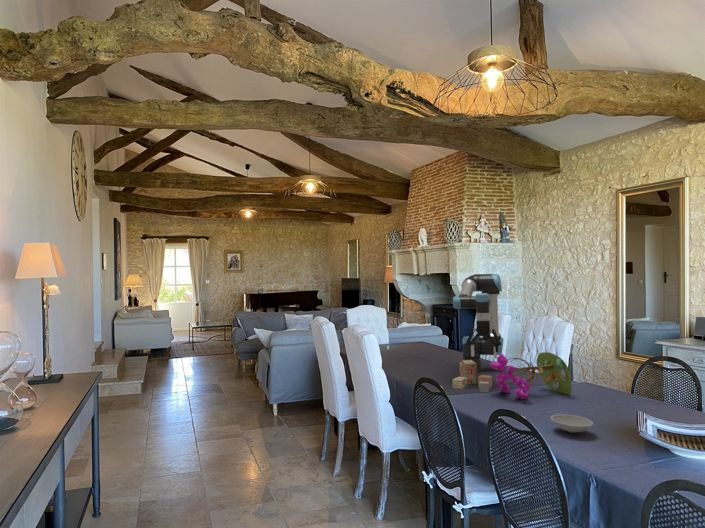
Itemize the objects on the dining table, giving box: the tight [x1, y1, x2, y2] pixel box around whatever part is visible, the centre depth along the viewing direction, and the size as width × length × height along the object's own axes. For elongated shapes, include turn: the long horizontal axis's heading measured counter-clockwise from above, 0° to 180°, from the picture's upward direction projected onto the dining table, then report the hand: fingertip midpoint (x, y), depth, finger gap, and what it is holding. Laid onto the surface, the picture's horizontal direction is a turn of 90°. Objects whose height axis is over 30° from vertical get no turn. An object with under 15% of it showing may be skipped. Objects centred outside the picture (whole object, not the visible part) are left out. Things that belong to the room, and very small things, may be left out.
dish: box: [550, 413, 594, 434], centre depth 202 cm, size 18×14×5 cm
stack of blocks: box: [458, 359, 478, 385], centre depth 307 cm, size 21×6×12 cm, turn 179°
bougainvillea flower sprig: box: [489, 351, 573, 400], centre depth 266 cm, size 30×28×35 cm
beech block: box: [452, 376, 468, 390], centre depth 289 cm, size 9×6×5 cm, turn 148°
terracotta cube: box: [477, 374, 493, 388], centre depth 289 cm, size 6×6×6 cm
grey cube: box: [478, 381, 491, 394], centre depth 277 cm, size 5×5×5 cm
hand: (484, 357), depth 289 cm, fingers open, 13 cm apart
